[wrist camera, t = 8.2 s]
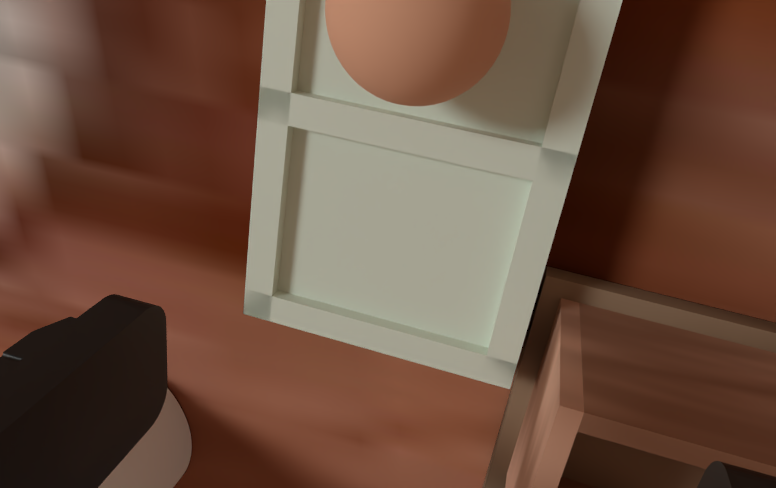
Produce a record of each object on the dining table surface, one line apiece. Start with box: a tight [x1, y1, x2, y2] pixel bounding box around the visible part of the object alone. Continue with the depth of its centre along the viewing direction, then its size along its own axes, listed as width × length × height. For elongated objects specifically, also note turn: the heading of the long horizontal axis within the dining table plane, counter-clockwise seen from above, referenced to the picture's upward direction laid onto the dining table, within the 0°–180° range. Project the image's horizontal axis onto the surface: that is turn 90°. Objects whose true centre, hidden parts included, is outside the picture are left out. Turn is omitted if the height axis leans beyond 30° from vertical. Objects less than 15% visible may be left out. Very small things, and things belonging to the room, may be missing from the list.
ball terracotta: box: [325, 0, 511, 106], centre depth 16 cm, size 4×4×4 cm
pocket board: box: [243, 0, 623, 389], centre depth 20 cm, size 15×10×2 cm, turn 171°
